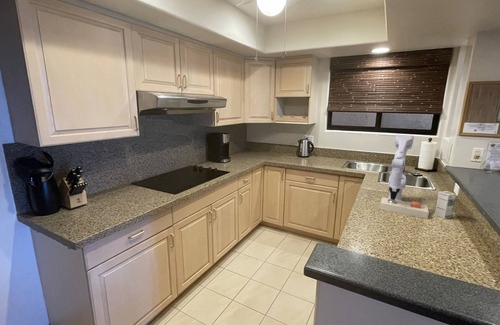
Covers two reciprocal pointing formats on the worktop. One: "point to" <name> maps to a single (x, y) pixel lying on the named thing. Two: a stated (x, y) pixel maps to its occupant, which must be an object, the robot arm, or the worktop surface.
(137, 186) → the worktop surface
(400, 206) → the control box
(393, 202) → the grey button
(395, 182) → the robot arm
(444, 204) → the syrup box
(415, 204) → the red button
